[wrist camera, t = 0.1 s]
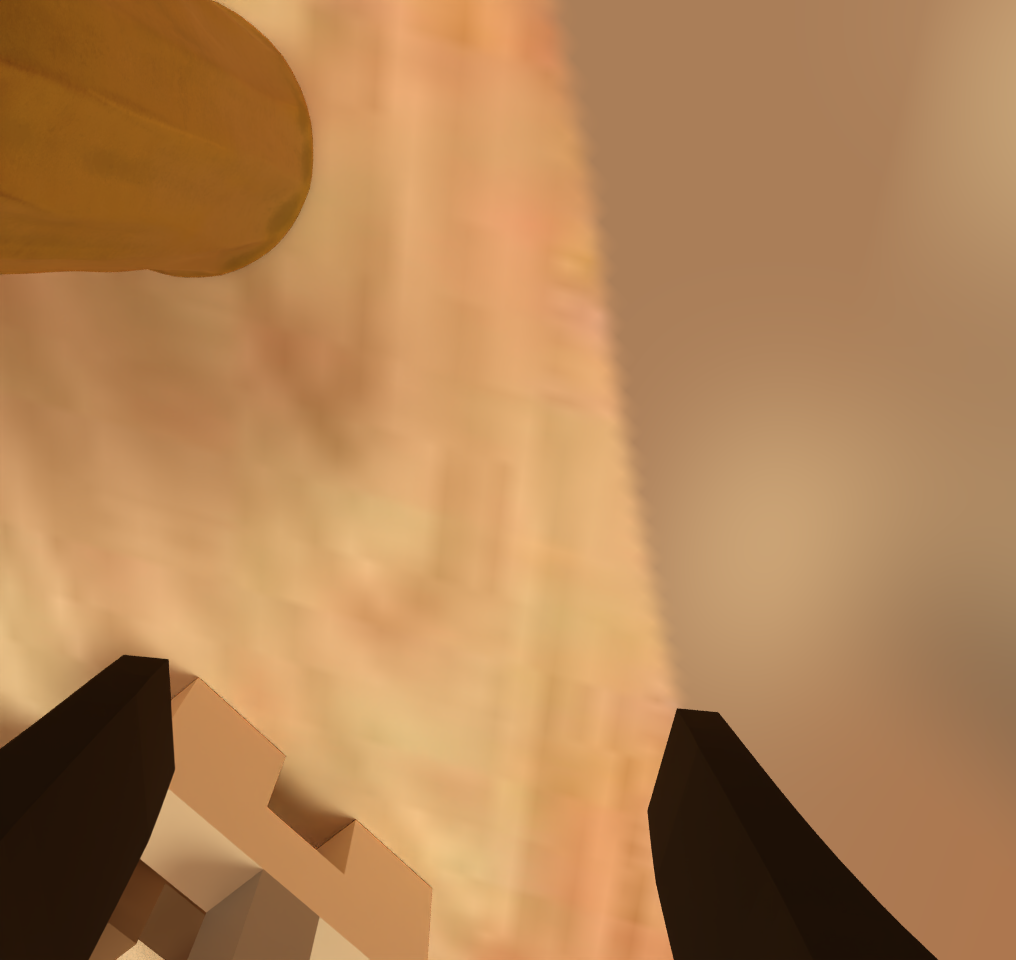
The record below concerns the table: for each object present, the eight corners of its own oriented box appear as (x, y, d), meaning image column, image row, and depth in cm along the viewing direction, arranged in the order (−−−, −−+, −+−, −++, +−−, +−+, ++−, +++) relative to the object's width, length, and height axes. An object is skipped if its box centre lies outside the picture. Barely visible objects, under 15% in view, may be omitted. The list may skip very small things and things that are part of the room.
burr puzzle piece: (432, 888, 25) (414, 1149, 18) (385, 922, 25) (349, 1192, 18) (198, 677, 23) (69, 879, 15) (149, 717, 23) (0, 935, 16)
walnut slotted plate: (360, 974, 26) (340, 1102, 22) (315, 1006, 26) (288, 1138, 22) (74, 735, 23) (-6, 834, 19) (28, 775, 23) (-60, 879, 19)
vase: (271, -34, 18) (-435, -998, 4) (346, 246, 19) (39, 250, 6) (8, 30, 18) (-1547, -685, 4) (106, 302, 20) (-754, 436, 6)
